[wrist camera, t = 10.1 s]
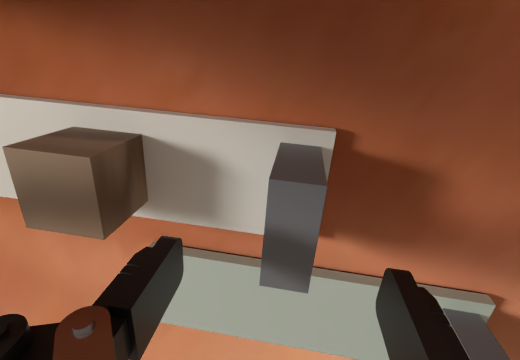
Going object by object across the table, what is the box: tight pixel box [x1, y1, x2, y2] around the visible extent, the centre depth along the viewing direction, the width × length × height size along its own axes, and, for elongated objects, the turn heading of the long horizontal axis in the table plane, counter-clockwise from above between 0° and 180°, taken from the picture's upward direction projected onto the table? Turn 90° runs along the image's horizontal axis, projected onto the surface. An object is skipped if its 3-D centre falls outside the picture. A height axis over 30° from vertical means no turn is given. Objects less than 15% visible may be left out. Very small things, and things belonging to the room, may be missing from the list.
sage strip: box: [149, 242, 510, 360], centre depth 21 cm, size 8×26×7 cm, turn 87°
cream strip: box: [0, 94, 336, 294], centre depth 18 cm, size 8×26×7 cm, turn 87°
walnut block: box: [2, 127, 148, 240], centre depth 18 cm, size 5×5×5 cm
